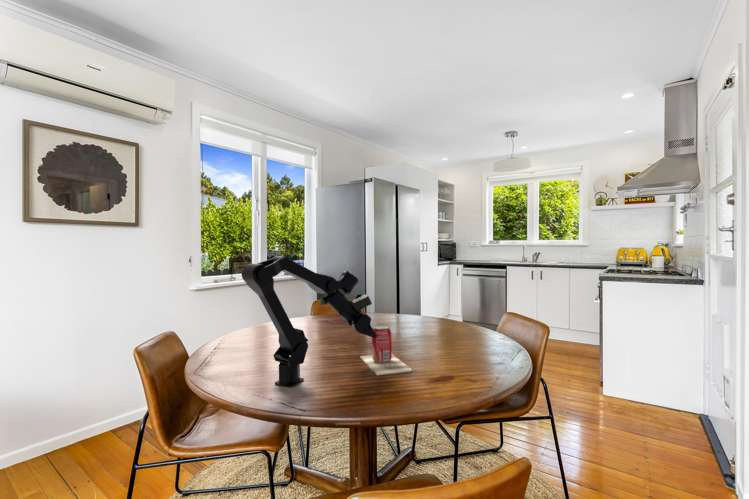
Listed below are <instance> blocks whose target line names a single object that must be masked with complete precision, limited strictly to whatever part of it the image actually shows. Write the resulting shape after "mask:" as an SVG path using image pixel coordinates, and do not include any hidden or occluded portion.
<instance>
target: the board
mask: <svg viewBox="0 0 749 499" xmlns="http://www.w3.org/2000/svg"><path fill="white" fill-rule="evenodd" d="M359 357H360V359H361V360H362V362H364V363H365V364H366V366H367V367H368V368H369V369H370V371H372V372H373V373H374V374H375V375H376V376H383V375H384V376H385V375H393V374H394V375H395V374H403V373H409V372H410V373H411V372H412V370H413V369H411V368H410V367H409V366H408V365H407V364H406V363H404V362H403V361H402V360H401V359H399V358H398V357H396V356H395V355H394V354H393V353H392V357H391V360H389V361H388V362H386V363H378V362H375V361H374V360H373V359H372V354H370V355H360V356H359Z"/></svg>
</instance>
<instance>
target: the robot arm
mask: <svg viewBox="0 0 749 499" xmlns="http://www.w3.org/2000/svg"><path fill="white" fill-rule="evenodd" d="M281 273H284V274H286V275H290V276H291V277H293V278H295V279H297V280H299V281H302V282H304V283H305V284H306V285H308V287H309V288H311V290H312V291H314V292H315V293H318V294H325V296H322V297H320V298H319V299H320V306H321V307H323V306H326V305H328V306H330V307H331V308H332V309H333V311H335V312H336V313H337V314H338V315H340V317H341V318H342V320H343V321H344V322H346V324H347V325H348V326H351V328H352V329H353V330H355V331H356V332H357V333H358V334H362V335H364V336H367V337H370V338H371V339H372V338H376V337H377V335H376V333H375V332H374V330H373V329H374V328H373V326H372V324H371V322H372V318H371V317H370V316H369V314H367V313H366V312H363V311H362V309H364V308H366V307H368V306H371V305H372V304H373V303H372V301H371V298H370V297H369V295H368V294H366V293H365V294H361V293H357V294H355V295H354V299H353V300H350V299H348V298H347V296H348V295H350V294H351V293H352V292H353V290H354V289H355V288H356V286H357V285H358V283H359V278H358V277H357V276H355V275H354V274H352V273H351V272H349V270H343V271H342V273H341V274H340V275H339V277H338V278H337V279H336V278H335V277H333V276H330V275H326V274H323V273H322V274H320V273H318V272H315V271H313V270H311V269H309V268H307V267H306V266H303V265H301V264H299V263H297V262H295V261H293V260H291V259H290V258H289V257H288V256H284V255H283V256H282V255H281V256H280V255H278V256H277V255H276V256H274V257H272V258H269V259H268V260H267V259H266V260H262V261H260V262H257V263H248V264H246V265H245V266H244V267H243V269H242V272H241V277H242V278H241V279H242V280H243V281H244V282H245V284H246V285H247V286H248V288H250V289H251V290H252V291H253V292H254V293H255V294H256V295H257V296H258V297H259V299H260V301H261V303H262V305H263V307H264V308H265V311H266V312H267V314H268V316H269V318H270V321H271V322H272V324H273V325H274V327H275V330H276V331H277V332H278V343H279V344H278V345H279V347H278V348H277V350H276V351H275V352H274V354H273V359H274V361H275V362H277V363H279V364H278V380H276V381H274V385H277V386H283V387H290V388H292V387H294V386H297V385H298V384H300V383H302V382H303V381H304V380H305V378H304V377H301V373H300V372H301V371H300V370H301V368H300V367H301V366H300V365H302V364H304V362H305V358H306V356H307V355H306V354H307V352H308V348H309V343H308V342H309V339H308V338H307V336H306V335H305V332H304V330H303V329H299V328H296V327H294V326H293V324H292V322H291V320H290V317H289V316H288V314H287V312H286V310H285V308H284V305H283V304H282V302H281V300H280V299H279V297H278V295H277V293H276V291H275V288H274V286H275V285H274V284H275V283H274V282H275V281H274V280H275V278H274V277H277V276H278V275H280V274H281ZM346 295H347V296H346Z"/></svg>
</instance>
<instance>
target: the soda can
mask: <svg viewBox="0 0 749 499" xmlns="http://www.w3.org/2000/svg"><path fill="white" fill-rule="evenodd" d="M372 328H373V330H374V332H375V333H376V335H377V337H376V338H372V337H371V355H372V359H373V360H374V361H375V362H378V363H386V362H388V361H389V360H391V357H392V354H393V351H392V349H393V348H392V347H393V346H392V345H393V343H392V336H393V335H392V331H391V329H390V325H383V324H380V325H378V324H377V325H374V326H372Z"/></svg>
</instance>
